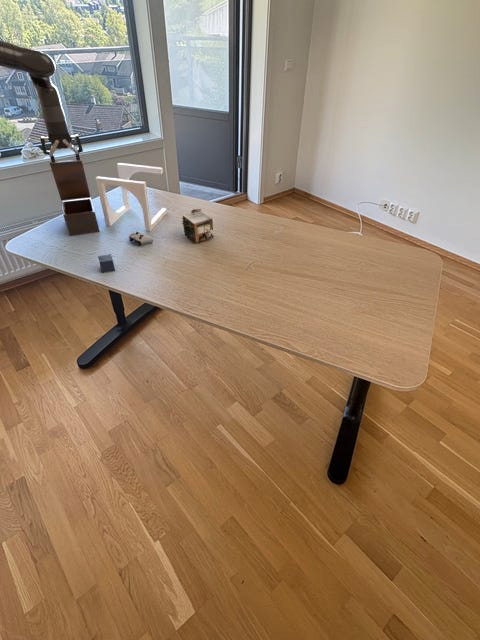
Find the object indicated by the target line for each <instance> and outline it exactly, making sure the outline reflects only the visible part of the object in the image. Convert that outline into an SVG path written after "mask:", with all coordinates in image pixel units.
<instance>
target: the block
mask: <svg viewBox="0 0 480 640" xmlns="http://www.w3.org/2000/svg"><path fill="white" fill-rule="evenodd" d="M97 258H98V261H99V266H100V270H101V272H102V274H105V273H111V272H115V271H116V267H115V263H114V259H113V256H112V253H109V254H101V255H98V256H97Z"/></svg>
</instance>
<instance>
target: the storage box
mask: <svg viewBox="0 0 480 640" xmlns="http://www.w3.org/2000/svg"><path fill="white" fill-rule="evenodd" d="M60 201H61V208H62V215H63V218H64V222H65V226H66V229H67V231H68V235H69V237H72V236H73V237H74V236H80V235H87V234H95V233H100V231H101V230H100V227H99V222H98V218H97V215H96V211H95V207H94V204H93V200H92V198H91V197H88V198H79V199H70V200H60Z"/></svg>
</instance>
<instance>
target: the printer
mask: <svg viewBox="0 0 480 640" xmlns="http://www.w3.org/2000/svg"><path fill="white" fill-rule="evenodd" d="M181 219H182V221H181V224H182V226H183V234H184V236H187V237H186V238H188V239H190V240H191V241H192V242H194V243H200V242H203V241H207V240H210V239H213V238H214V236H215V235H214V234H213V233H212V232H211V230H212V231H214V222H213V218H212V217H210V216H209V215H207V214H205V213H204V212H203V211H202V209H201V208H196V209H192V210H191V213H187V214H183V215H182V218H181Z"/></svg>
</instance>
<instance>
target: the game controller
mask: <svg viewBox="0 0 480 640" xmlns="http://www.w3.org/2000/svg"><path fill="white" fill-rule="evenodd" d="M128 239H129V243H131V242H135V243H136V244H137V246H138V247H142V246H143V245H146V244H152V243H154V238H153V237H151V236H149V235H145V234H143V233H141V232H140V231H134V232H132V233H130V234H129V235H128Z"/></svg>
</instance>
